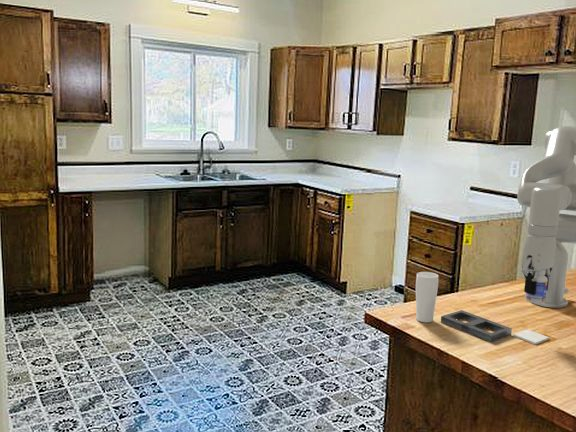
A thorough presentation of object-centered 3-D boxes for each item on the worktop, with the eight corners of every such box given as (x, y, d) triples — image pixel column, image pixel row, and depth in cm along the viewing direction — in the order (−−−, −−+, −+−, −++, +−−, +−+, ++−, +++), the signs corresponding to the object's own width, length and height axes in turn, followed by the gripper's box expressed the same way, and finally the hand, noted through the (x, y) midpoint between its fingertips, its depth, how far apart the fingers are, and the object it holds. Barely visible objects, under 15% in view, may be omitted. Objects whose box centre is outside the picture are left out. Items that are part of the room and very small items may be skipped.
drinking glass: (439, 320, 172) (442, 274, 169) (428, 326, 167) (432, 279, 164) (420, 314, 176) (423, 270, 173) (409, 320, 171) (412, 274, 168)
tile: (526, 331, 164) (526, 329, 164) (548, 339, 158) (549, 337, 158) (513, 336, 160) (513, 334, 160) (535, 344, 154) (535, 342, 154)
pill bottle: (547, 305, 154) (551, 272, 152) (527, 303, 155) (530, 270, 153) (542, 298, 159) (546, 266, 157) (522, 297, 160) (526, 265, 158)
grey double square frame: (461, 315, 175) (461, 310, 175) (511, 334, 161) (511, 328, 161) (440, 322, 170) (441, 316, 169) (490, 342, 155) (491, 335, 155)
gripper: (546, 225, 161) (540, 283, 164) (512, 231, 151) (506, 293, 154) (571, 229, 155) (564, 290, 158) (537, 236, 145) (531, 300, 148)
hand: (535, 291), depth 156 cm, fingers closed on pill bottle, 5 cm apart
